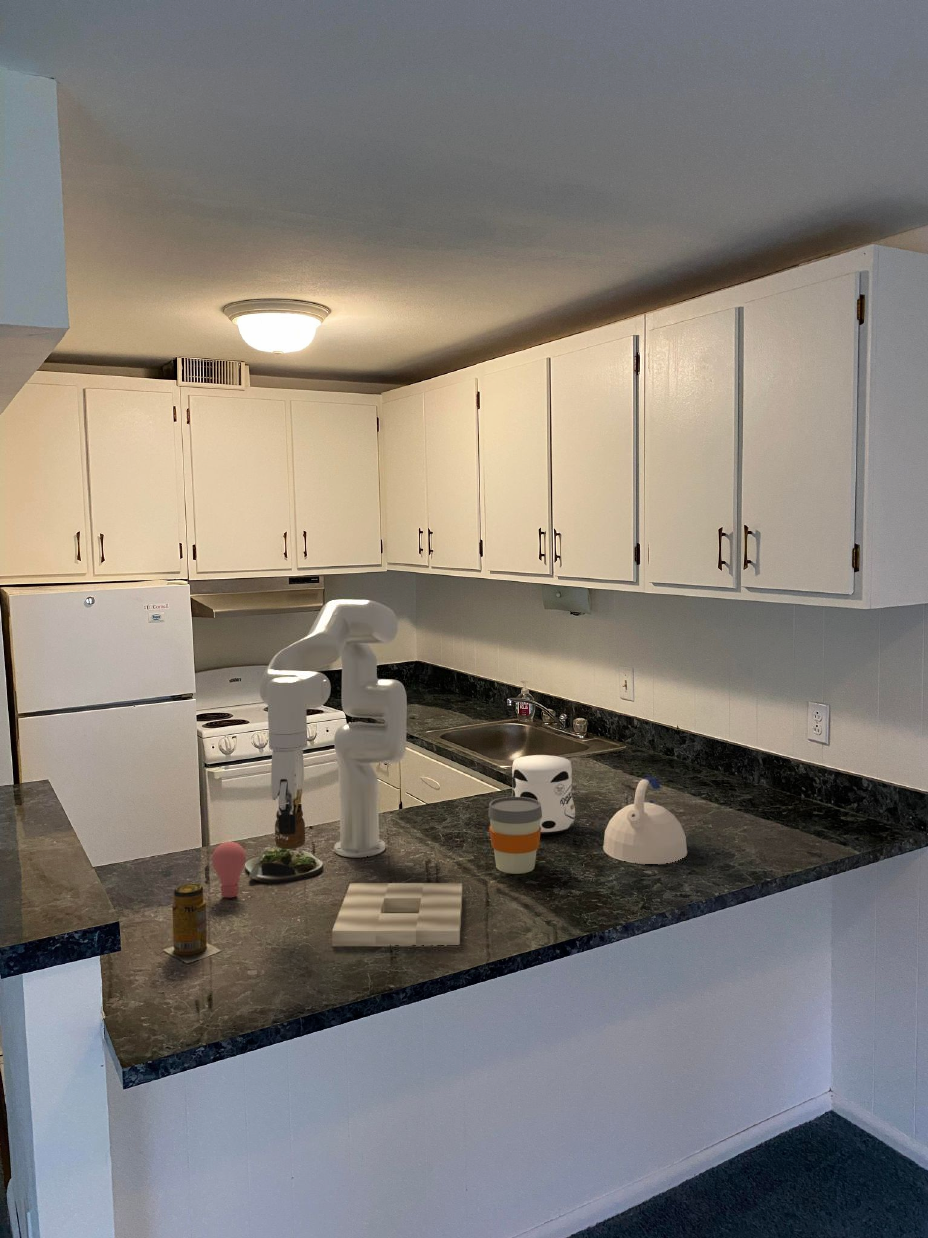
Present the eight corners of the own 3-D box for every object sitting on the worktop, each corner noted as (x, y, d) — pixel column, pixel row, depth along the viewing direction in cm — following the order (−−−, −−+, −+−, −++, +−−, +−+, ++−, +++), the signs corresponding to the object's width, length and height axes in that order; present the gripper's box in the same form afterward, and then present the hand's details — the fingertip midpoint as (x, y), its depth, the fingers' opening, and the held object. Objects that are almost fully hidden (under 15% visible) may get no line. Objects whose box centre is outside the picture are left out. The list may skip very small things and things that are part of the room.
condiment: (197, 938, 178) (195, 878, 177) (221, 951, 172) (219, 889, 171) (162, 951, 173) (160, 889, 171) (186, 965, 167) (184, 901, 166)
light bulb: (233, 888, 203) (232, 835, 202) (254, 896, 199) (252, 841, 198) (206, 898, 198) (204, 843, 197) (226, 906, 193) (224, 850, 192)
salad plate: (230, 863, 220) (230, 845, 219) (302, 850, 228) (301, 832, 228) (254, 890, 203) (253, 870, 202) (330, 875, 211) (330, 856, 211)
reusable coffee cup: (551, 863, 217) (551, 800, 216) (527, 880, 206) (527, 815, 205) (504, 854, 223) (503, 793, 222) (478, 870, 213) (478, 807, 211)
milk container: (587, 834, 238) (587, 766, 236) (526, 843, 231) (526, 773, 230) (556, 815, 254) (556, 751, 252) (498, 823, 247) (498, 757, 246)
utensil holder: (292, 838, 189) (290, 780, 188) (312, 844, 185) (311, 786, 184) (269, 845, 184) (267, 787, 183) (289, 852, 180) (287, 792, 179)
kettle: (590, 858, 221) (591, 784, 219) (618, 833, 239) (618, 764, 237) (674, 871, 211) (675, 794, 210) (696, 844, 230) (697, 773, 228)
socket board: (350, 896, 198) (350, 883, 197) (462, 896, 197) (462, 883, 197) (332, 946, 174) (332, 931, 173) (459, 946, 173) (459, 931, 173)
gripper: (278, 730, 191) (281, 815, 193) (258, 750, 174) (261, 843, 176) (314, 730, 191) (317, 815, 193) (298, 750, 174) (301, 843, 176)
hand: (290, 827), depth 184 cm, fingers closed on utensil holder, 5 cm apart
